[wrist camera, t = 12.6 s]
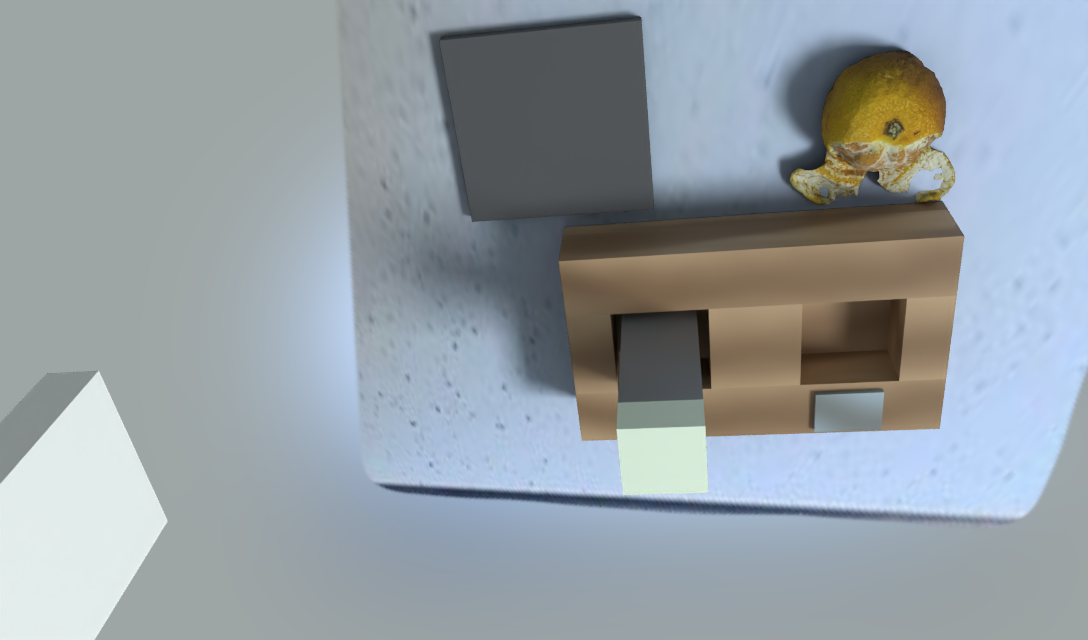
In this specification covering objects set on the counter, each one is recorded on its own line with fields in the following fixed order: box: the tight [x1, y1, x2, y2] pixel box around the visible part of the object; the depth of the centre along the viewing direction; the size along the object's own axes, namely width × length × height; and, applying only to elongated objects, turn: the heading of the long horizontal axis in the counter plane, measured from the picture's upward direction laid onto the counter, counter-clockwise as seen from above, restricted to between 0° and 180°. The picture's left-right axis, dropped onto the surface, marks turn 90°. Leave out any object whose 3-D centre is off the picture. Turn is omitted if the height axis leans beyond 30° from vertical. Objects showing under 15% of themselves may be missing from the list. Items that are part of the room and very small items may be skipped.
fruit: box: [790, 51, 955, 205], centre depth 45 cm, size 8×8×4 cm
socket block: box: [559, 201, 964, 441], centre depth 51 cm, size 12×20×4 cm, turn 97°
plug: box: [616, 310, 708, 495], centre depth 48 cm, size 4×4×12 cm
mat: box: [439, 17, 654, 222], centre depth 48 cm, size 10×10×1 cm
